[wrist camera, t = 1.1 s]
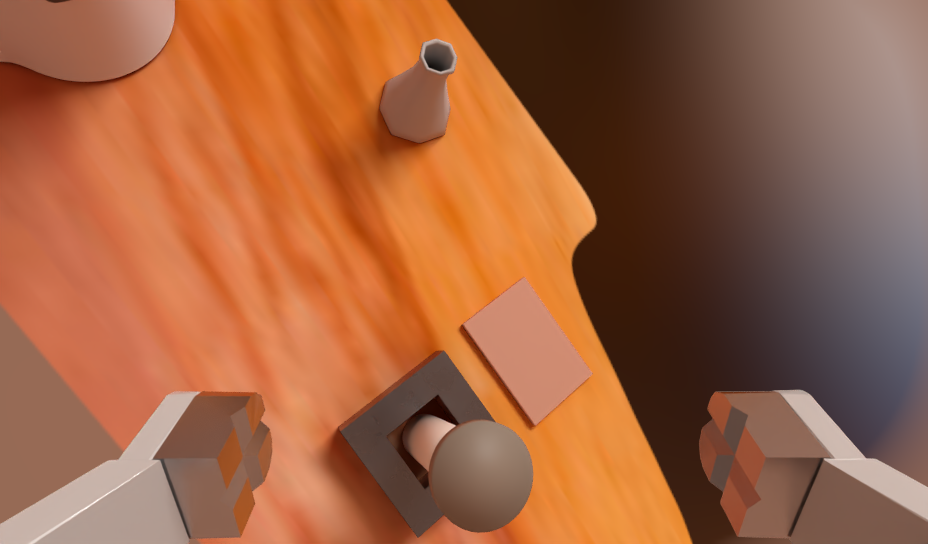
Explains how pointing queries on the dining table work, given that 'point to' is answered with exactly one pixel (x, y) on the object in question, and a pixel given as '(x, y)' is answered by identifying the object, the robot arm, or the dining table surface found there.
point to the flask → (420, 95)
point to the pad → (527, 350)
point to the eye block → (390, 412)
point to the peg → (472, 469)
